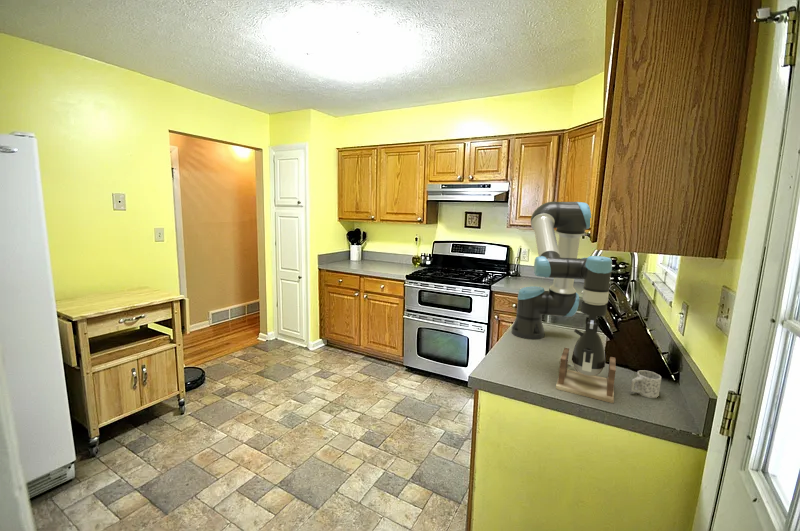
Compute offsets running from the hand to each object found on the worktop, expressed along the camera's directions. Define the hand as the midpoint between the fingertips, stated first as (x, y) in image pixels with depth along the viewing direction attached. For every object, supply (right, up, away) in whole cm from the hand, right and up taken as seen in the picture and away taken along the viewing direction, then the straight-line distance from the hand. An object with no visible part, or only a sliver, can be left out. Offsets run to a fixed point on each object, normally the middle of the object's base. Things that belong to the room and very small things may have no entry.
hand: (587, 364), depth 123 cm
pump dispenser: (0, -3, +1) cm, 3 cm away
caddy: (0, -8, +1) cm, 8 cm away
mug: (+17, -9, -3) cm, 19 cm away
